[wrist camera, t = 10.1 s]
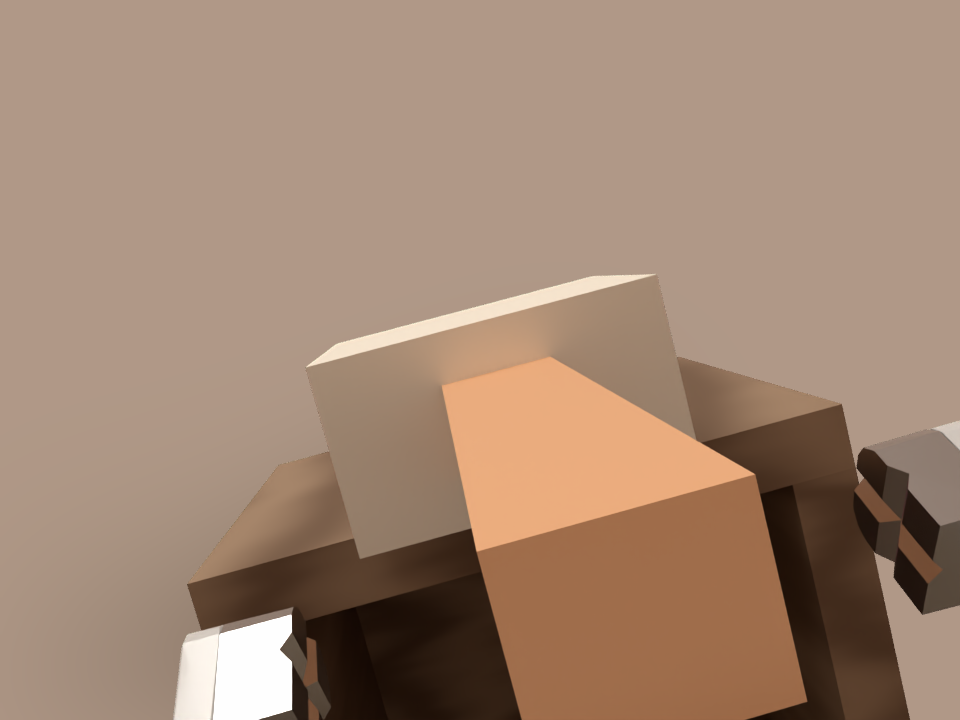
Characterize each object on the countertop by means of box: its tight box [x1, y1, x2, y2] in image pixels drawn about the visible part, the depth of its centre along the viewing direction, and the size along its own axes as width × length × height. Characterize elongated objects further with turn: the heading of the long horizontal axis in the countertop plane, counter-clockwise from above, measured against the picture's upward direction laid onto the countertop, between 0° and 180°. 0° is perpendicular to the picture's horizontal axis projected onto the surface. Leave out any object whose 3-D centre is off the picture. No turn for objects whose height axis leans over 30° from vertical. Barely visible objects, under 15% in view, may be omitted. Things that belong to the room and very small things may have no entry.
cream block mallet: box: [306, 274, 807, 720], centre depth 19 cm, size 9×21×5 cm, turn 5°
